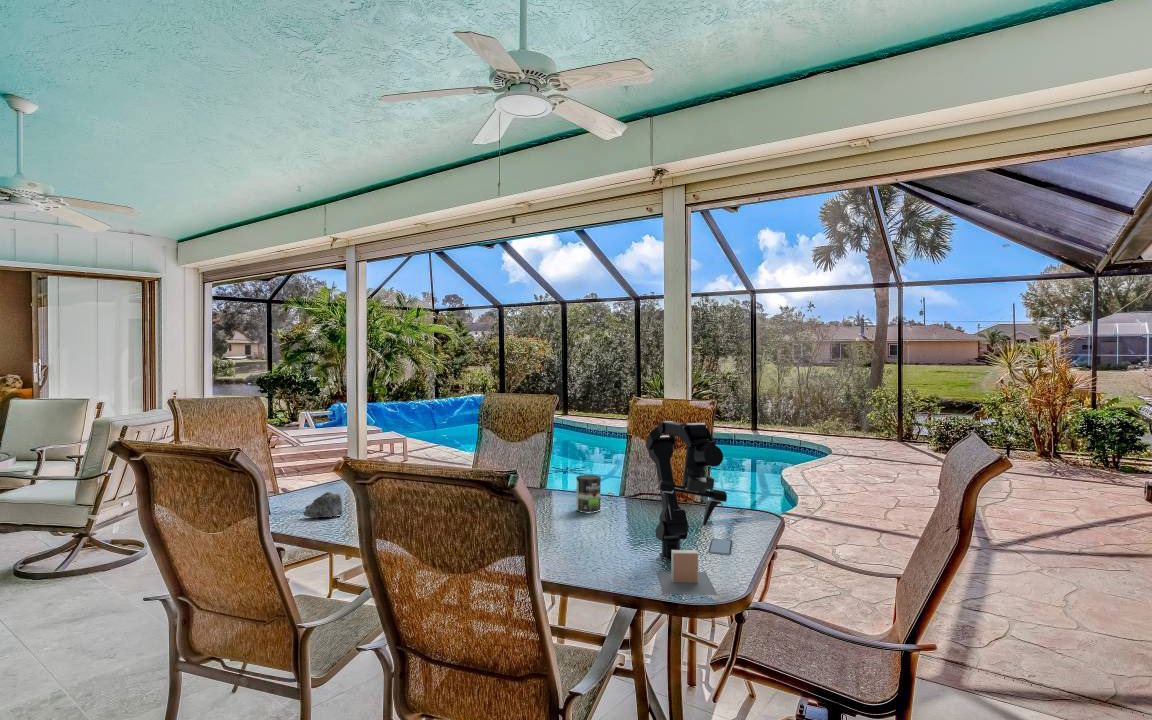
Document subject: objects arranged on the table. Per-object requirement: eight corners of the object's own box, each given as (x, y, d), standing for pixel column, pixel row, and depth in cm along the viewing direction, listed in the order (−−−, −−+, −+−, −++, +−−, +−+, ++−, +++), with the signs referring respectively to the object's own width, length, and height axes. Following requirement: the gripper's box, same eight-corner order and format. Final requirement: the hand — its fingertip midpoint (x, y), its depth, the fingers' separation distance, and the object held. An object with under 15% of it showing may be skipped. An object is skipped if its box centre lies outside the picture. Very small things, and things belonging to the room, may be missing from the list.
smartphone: (707, 552, 186) (711, 538, 200) (707, 555, 186) (711, 541, 200) (731, 554, 184) (733, 540, 198) (731, 557, 184) (733, 542, 198)
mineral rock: (301, 519, 226) (301, 494, 226) (319, 513, 237) (319, 488, 237) (331, 521, 223) (331, 495, 224) (347, 514, 234) (347, 489, 234)
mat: (656, 574, 166) (656, 571, 166) (705, 575, 165) (705, 572, 166) (663, 597, 150) (663, 593, 150) (717, 598, 149) (717, 594, 149)
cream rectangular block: (671, 578, 160) (671, 549, 160) (696, 579, 160) (696, 550, 160) (672, 582, 157) (672, 553, 158) (698, 582, 157) (698, 553, 157)
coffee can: (605, 511, 240) (605, 477, 240) (583, 514, 235) (583, 480, 235) (592, 506, 249) (592, 473, 249) (571, 509, 244) (571, 476, 244)
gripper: (666, 459, 157) (658, 517, 154) (734, 471, 156) (728, 530, 153) (661, 461, 168) (653, 516, 164) (724, 472, 167) (718, 527, 164)
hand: (688, 522), depth 161 cm, fingers open, 9 cm apart
